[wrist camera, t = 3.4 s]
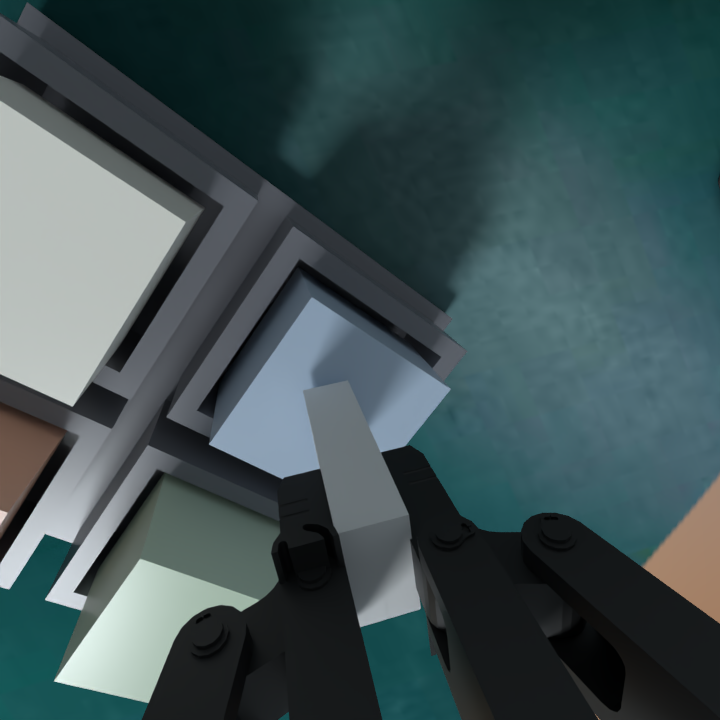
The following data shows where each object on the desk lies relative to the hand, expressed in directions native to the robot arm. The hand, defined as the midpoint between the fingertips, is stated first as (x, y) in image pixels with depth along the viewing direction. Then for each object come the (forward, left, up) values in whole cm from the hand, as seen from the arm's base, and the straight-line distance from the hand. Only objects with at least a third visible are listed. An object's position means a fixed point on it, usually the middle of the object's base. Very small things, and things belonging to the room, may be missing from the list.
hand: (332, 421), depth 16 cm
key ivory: (-10, 0, -4) cm, 11 cm away
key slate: (0, 0, -6) cm, 6 cm away
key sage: (0, -10, -4) cm, 11 cm away
